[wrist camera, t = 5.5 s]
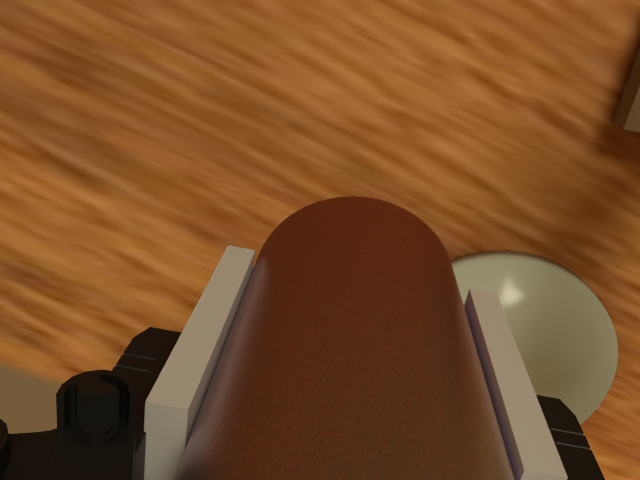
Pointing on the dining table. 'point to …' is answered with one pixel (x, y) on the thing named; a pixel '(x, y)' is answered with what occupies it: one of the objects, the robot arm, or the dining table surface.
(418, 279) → the beverage can
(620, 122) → the balance
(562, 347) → the dish
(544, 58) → the dining table surface
